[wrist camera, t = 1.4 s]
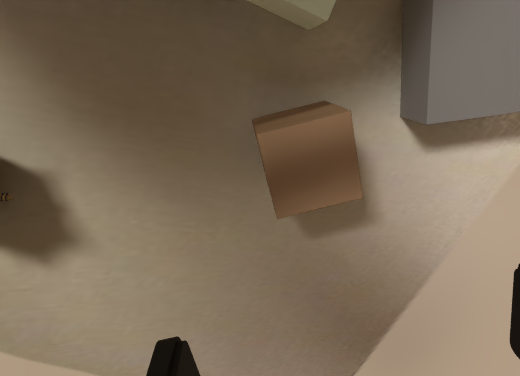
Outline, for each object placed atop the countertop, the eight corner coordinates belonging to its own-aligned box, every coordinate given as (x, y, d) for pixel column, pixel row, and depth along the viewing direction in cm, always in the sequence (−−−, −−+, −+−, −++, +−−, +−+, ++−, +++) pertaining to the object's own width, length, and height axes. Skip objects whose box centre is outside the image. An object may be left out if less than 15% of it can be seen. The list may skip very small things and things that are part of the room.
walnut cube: (251, 119, 24) (256, 134, 19) (324, 100, 24) (350, 110, 19) (268, 186, 26) (277, 218, 21) (335, 169, 26) (362, 197, 21)
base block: (401, -2, 22) (434, -16, 19) (515, -17, 23) (571, -34, 19) (398, 116, 25) (426, 124, 22) (500, 101, 25) (545, 108, 22)
